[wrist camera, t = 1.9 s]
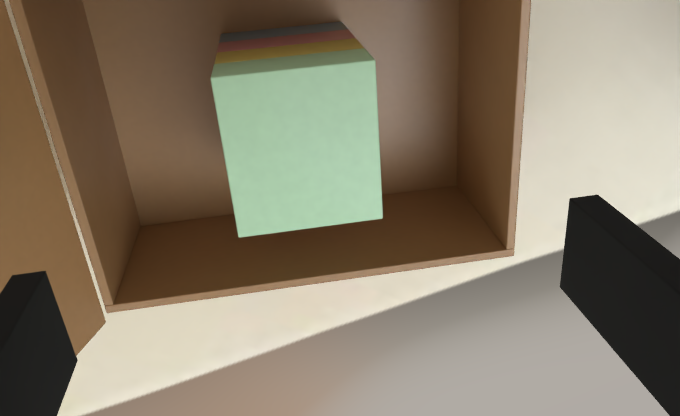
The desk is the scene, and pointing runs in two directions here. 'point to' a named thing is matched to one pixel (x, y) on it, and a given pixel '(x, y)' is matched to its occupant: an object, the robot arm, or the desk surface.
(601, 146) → the desk surface
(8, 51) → the flap
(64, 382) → the robot arm
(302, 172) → the sticky pads
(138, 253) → the carton
